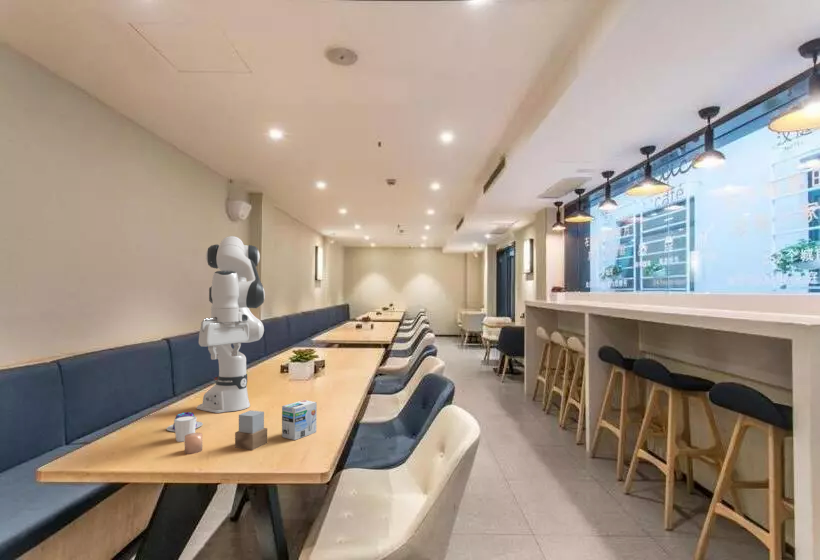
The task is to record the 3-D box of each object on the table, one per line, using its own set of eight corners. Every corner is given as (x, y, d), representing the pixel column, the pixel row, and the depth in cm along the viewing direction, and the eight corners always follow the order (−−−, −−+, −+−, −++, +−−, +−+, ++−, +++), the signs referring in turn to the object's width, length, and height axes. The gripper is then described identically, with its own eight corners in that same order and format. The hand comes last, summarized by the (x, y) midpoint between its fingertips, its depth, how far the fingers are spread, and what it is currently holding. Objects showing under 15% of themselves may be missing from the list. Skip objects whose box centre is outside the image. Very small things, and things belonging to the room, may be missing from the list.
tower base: (235, 448, 139) (235, 432, 139) (250, 441, 145) (250, 426, 145) (252, 450, 136) (252, 434, 136) (267, 443, 143) (267, 428, 143)
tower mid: (238, 431, 139) (238, 414, 139) (250, 426, 144) (250, 410, 145) (252, 433, 137) (252, 416, 138) (263, 428, 143) (263, 411, 143)
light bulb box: (294, 440, 144) (294, 408, 145) (281, 437, 148) (280, 405, 148) (317, 432, 154) (317, 401, 154) (303, 429, 157) (303, 399, 157)
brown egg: (180, 453, 134) (180, 436, 135) (193, 447, 139) (193, 431, 139) (193, 454, 133) (193, 438, 133) (205, 449, 137) (205, 433, 138)
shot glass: (173, 443, 143) (173, 422, 143) (174, 437, 149) (174, 417, 149) (196, 440, 146) (196, 419, 146) (196, 434, 152) (196, 414, 152)
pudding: (185, 422, 168) (185, 408, 168) (209, 424, 164) (210, 410, 165) (158, 431, 157) (158, 417, 157) (184, 434, 153) (185, 419, 153)
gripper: (209, 317, 137) (209, 361, 136) (252, 316, 156) (252, 354, 155) (193, 318, 139) (193, 361, 138) (238, 316, 158) (238, 354, 157)
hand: (225, 357), depth 147 cm, fingers open, 8 cm apart
